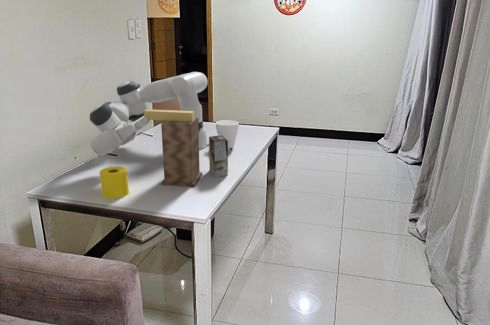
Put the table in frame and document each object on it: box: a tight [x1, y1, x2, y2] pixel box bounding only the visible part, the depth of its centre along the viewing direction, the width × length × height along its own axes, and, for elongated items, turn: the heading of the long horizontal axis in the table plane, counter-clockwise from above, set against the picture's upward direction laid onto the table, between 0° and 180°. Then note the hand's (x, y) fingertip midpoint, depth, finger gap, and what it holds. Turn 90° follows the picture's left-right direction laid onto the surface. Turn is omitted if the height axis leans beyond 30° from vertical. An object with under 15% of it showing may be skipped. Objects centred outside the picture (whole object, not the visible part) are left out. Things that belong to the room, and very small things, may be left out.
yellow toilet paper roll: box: [99, 166, 130, 200], centre depth 156 cm, size 10×10×9 cm
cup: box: [215, 119, 240, 150], centre depth 214 cm, size 12×12×14 cm
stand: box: [160, 117, 203, 188], centre depth 168 cm, size 14×14×26 cm
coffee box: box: [208, 135, 229, 178], centre depth 177 cm, size 9×6×16 cm
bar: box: [144, 108, 195, 122], centre depth 163 cm, size 20×4×4 cm, turn 83°
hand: (151, 117), depth 164 cm, fingers open, 8 cm apart
